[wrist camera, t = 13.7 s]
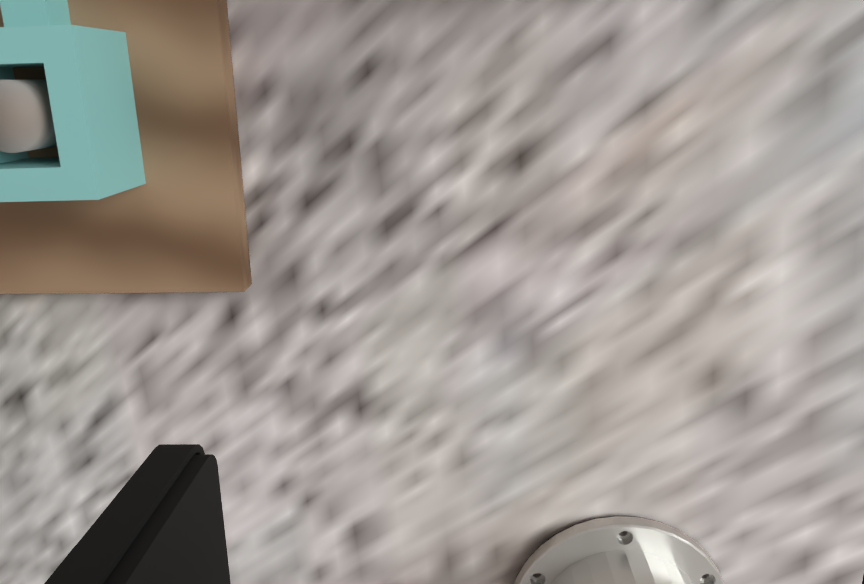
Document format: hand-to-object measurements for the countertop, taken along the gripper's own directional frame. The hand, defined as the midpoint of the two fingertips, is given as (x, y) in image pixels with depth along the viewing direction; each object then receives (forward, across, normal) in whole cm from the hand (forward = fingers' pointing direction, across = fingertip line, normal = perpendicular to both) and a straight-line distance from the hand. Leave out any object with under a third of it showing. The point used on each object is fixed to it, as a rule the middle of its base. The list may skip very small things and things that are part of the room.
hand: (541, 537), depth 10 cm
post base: (+28, +20, -5) cm, 35 cm away
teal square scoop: (+27, +20, -8) cm, 34 cm away
